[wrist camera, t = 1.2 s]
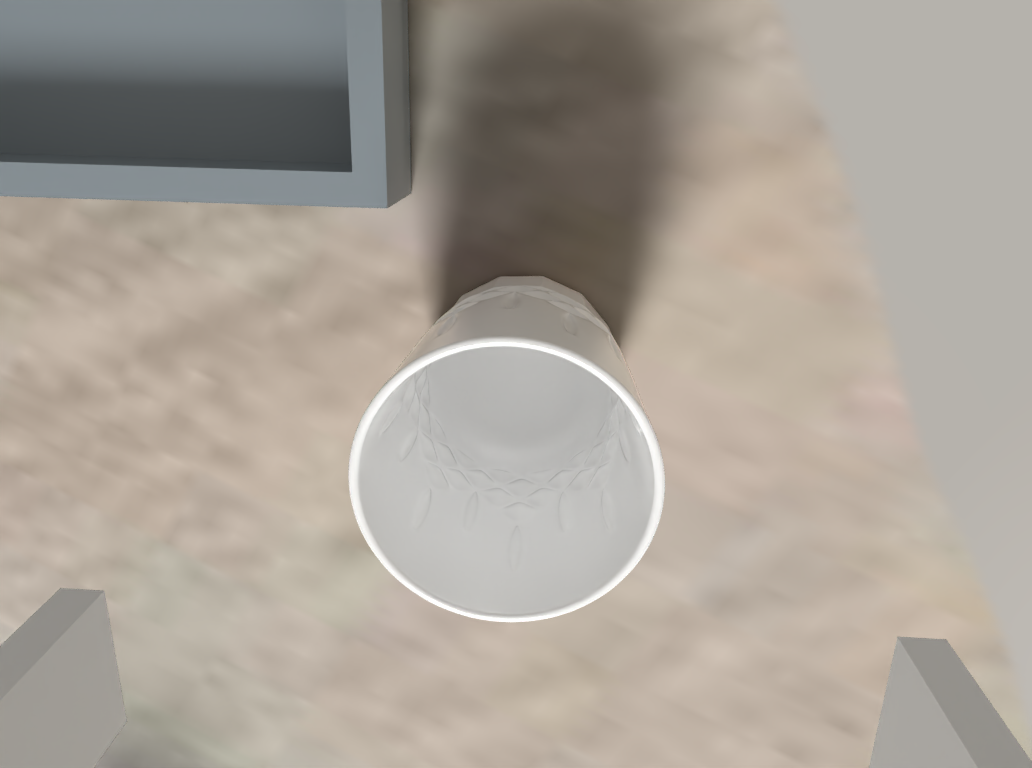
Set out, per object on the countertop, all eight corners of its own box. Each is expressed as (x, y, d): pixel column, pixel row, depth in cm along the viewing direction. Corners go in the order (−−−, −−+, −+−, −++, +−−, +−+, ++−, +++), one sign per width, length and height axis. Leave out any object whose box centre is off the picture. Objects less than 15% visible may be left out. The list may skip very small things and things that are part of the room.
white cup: (542, 499, 31) (534, 673, 22) (375, 381, 30) (288, 511, 20) (677, 346, 29) (732, 467, 19) (501, 210, 28) (469, 269, 18)
